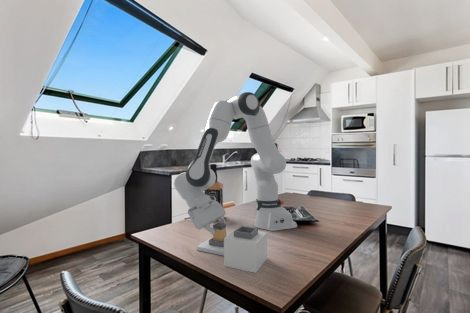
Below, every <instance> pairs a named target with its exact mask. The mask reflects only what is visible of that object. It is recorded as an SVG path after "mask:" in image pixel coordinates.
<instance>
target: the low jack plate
mask: <svg viewBox="0 0 470 313" xmlns="http://www.w3.org/2000/svg"><path fill="white" fill-rule="evenodd" d="M196 251H198V252H199V251H200V252H205V253H208V254H209V253H210V254H214V255H220V256H223V257H224V241H223V242H221V241H215V240H213V235H212V236H211V237H209V238H208V239H206V240H205V241H203V242H202V243H200V244H198V245H197V246H196Z"/></svg>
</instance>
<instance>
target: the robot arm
mask: <svg viewBox="0 0 470 313" xmlns="http://www.w3.org/2000/svg"><path fill="white" fill-rule="evenodd" d="M242 118H243V120H244V121H245V122H246V127H247V132H248V135H249V138H250V143H251V145H252V147H253V148H254V149H255V151H256V153H254V154H253V155H252V156H251V157H250V166H251V167H252V170H253V172H254V177H255V182H256V200H255V209H256V213H255V220H254V224H253V226H254V228H258V229H262V230H267V231H272V232H275V231H282V230H283V231H284V230H289V229H296V228H298V224H297V222H296V221H294V220H293V215H292V213H291V212H290V211H289V210H287V208H285V207H283V205H285V201H284V200H281V199H280V198H279V184H278V182H277V181H276V179H275V174H280V173H282V172H284V170H285V169H286V166H287V160H286V158H285V156H283V154H282V153H281V152H280V151H279V149H278V147H277V144H276V143H275V141H274V139H273V135H272V133H271V128H270V124H269V121H268V117H267V115H266V112H265V111H264V109H263V107H262V106H261V105H260V101H259V99H258V97H257V96H256V94H255V93H253V92H250V91H246V92H242V93H239V94H236V95H234V96H232V97H230V98H228V99H227V100H222V99H221V100H217V101H216V102H215V103H214V104H213V107H211V110H210V114H209V116H208V118H207V121H206V126H205V129H204V132H203V135H202V137H201V139H200V143H199V145H198V148H197V150H196V153H195V156H194V158H193V160H192V161H191V163H189V165H188V166H187V169H186V170H185V171H184V172H180V174H178V175H177V176H176V177H175V179H174V182H173V185H174V188H175V190H176V191H177V193H178V195H179V196H180V198H181V199H182V200H184V201H185V203H186V204H187V206H188V208H189V209H188V210H187V214H188V216H189V219H190V220H191V222H192V224H193V225H194V227H195V228H196V229H197V230H199V231H200V230H202V229H205V231H208V232H209V233H210V234H211V235H212V236H213V234H215V233H216V232H217V231H216V230H215V228H213V226H211V224H213V223H215V222H219V223H224V224H226V227H227V226H228V224H227V222H226V220H225V218H224V217H225V215H226V213H227V212H226V210H225V208H224V206H223V207H222V206H221V205H220V204H219V203H218V202H217V201H216V198H215V197H214V196H208V195H205V193H204V191H205V190H207V189H209V188H210V187H212V186H213V185H214V183H215V181H216V174H215V172H214V171H213V170H211V169H210V161H211V159H212V156H213V153H214V150H215V148H216V145H217V144H218V143H219V144H220V143H222V142H224V141H226V139H227V138H228V135H229V133H230V130H231V126H232V123H233V120H237V119H238V120H239V119H242ZM223 216H224V217H223ZM217 220H219V221H217Z"/></svg>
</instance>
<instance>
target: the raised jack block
mask: <svg viewBox="0 0 470 313" xmlns="http://www.w3.org/2000/svg"><path fill="white" fill-rule="evenodd" d="M267 259H268V231H260V230H259V228H257V227H252V226H245V225H241V226H239V227H238V228H236V229H235V230H233V231H232V232H230V233H229V234H228V235H226V237H225V238H224V256H223V266H224V267H227V268H233V269H236V270H240V271H244V272H245V271H246V272H250V273H255V274H256V273H257V272H258V271H259V270H260V269H261V268H262V266H263V265H264V263H265V262H266V261H267Z"/></svg>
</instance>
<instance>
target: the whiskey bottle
mask: <svg viewBox="0 0 470 313" xmlns="http://www.w3.org/2000/svg"><path fill="white" fill-rule="evenodd" d="M217 166H218V165H217V164H216V163H209V167H210V169H211V170H213V171H214V172H215V174H216V181H215V183H214V185H213V186H212V187H210V188H209V189H207V190H205V191H203V192H204V193H205V195H208V196H214V197H215V198H216V201H217V202H218V203H219V204H220V205H221V206H222V207H223V208H224V205H223V204H224V201H223V200H224V199H223V196H224V195H223V188H224V184H223V182H222V183H221V182H220V181H218V172H217V171H218V170H217V168H218V167H217ZM223 217H225V215H224V216H223ZM216 222H220V221H219V220H217V221H216Z"/></svg>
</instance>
